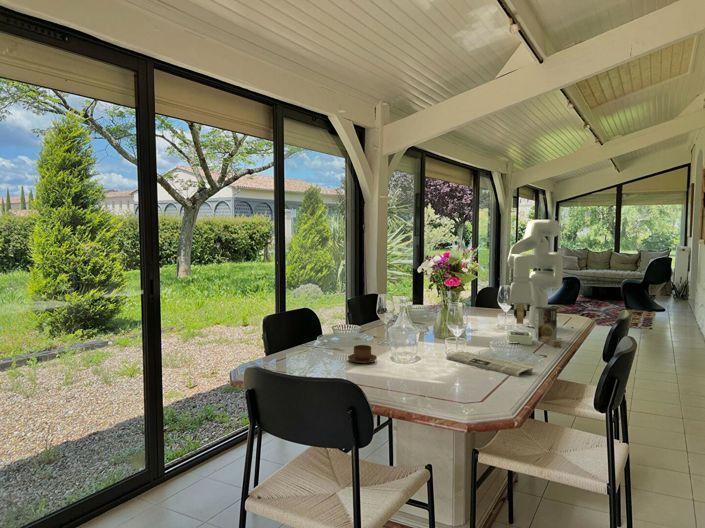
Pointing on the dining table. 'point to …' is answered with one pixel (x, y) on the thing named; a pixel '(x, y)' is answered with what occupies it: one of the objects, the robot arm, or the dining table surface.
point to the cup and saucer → (362, 354)
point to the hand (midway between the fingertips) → (519, 317)
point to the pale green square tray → (520, 337)
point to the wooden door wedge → (550, 341)
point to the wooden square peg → (520, 313)
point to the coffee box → (545, 322)
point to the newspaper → (491, 363)
